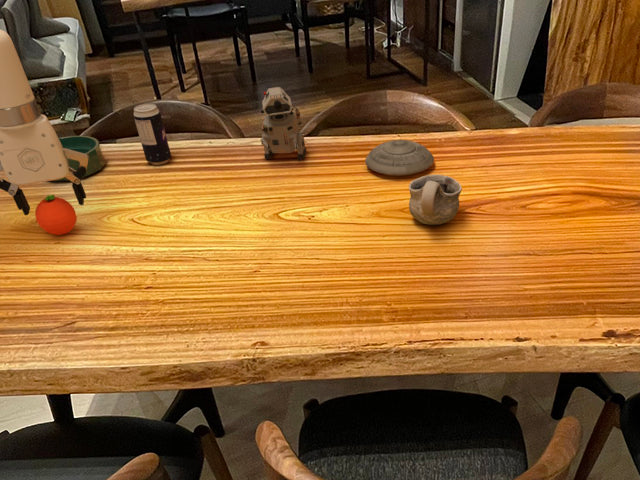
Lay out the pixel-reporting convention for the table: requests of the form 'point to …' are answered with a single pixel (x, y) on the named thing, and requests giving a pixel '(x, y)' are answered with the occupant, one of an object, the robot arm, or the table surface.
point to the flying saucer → (399, 158)
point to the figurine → (281, 125)
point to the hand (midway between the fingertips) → (55, 207)
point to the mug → (434, 199)
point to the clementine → (55, 215)
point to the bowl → (86, 147)
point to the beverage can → (152, 134)
